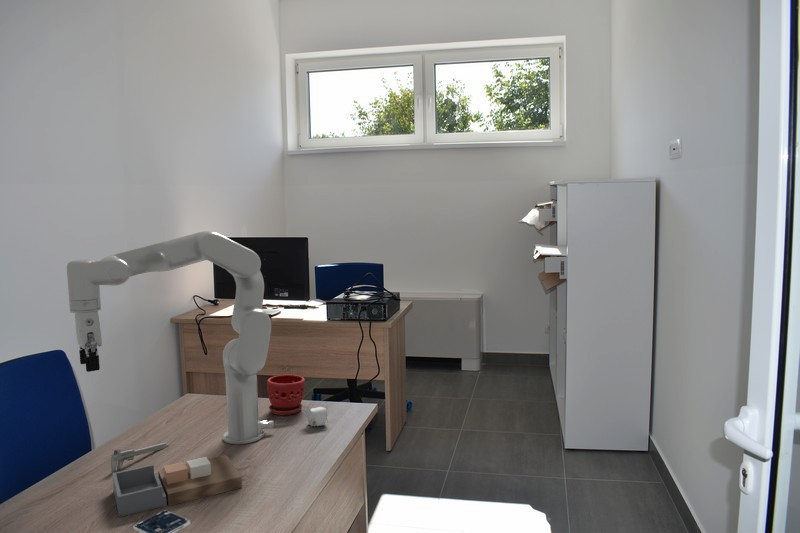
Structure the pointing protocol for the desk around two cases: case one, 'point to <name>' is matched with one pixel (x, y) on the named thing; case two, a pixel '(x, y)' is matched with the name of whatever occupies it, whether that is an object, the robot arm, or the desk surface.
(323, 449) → the desk surface
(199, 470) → the tile cream
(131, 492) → the box
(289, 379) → the plant pot
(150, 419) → the desk surface
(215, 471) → the plate
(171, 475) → the tile terracotta
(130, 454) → the caliper
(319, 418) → the elephant figurine
